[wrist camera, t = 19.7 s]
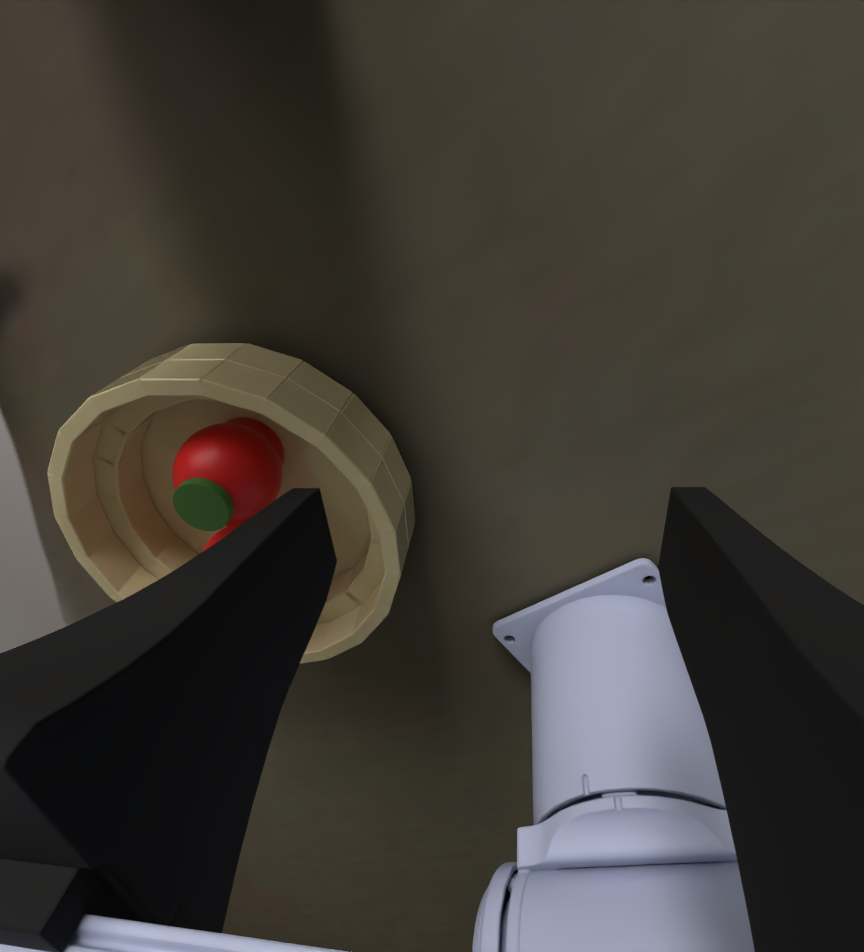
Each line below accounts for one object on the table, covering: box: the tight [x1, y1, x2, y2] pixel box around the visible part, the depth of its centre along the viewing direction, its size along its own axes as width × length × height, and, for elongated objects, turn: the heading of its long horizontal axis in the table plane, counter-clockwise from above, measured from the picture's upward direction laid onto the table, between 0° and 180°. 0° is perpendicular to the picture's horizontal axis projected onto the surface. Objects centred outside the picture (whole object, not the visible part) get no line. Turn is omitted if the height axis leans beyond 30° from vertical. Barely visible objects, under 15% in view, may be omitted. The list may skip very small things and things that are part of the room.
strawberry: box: [172, 417, 284, 531], centre depth 20 cm, size 4×4×4 cm
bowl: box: [47, 343, 415, 664], centre depth 22 cm, size 13×13×4 cm
